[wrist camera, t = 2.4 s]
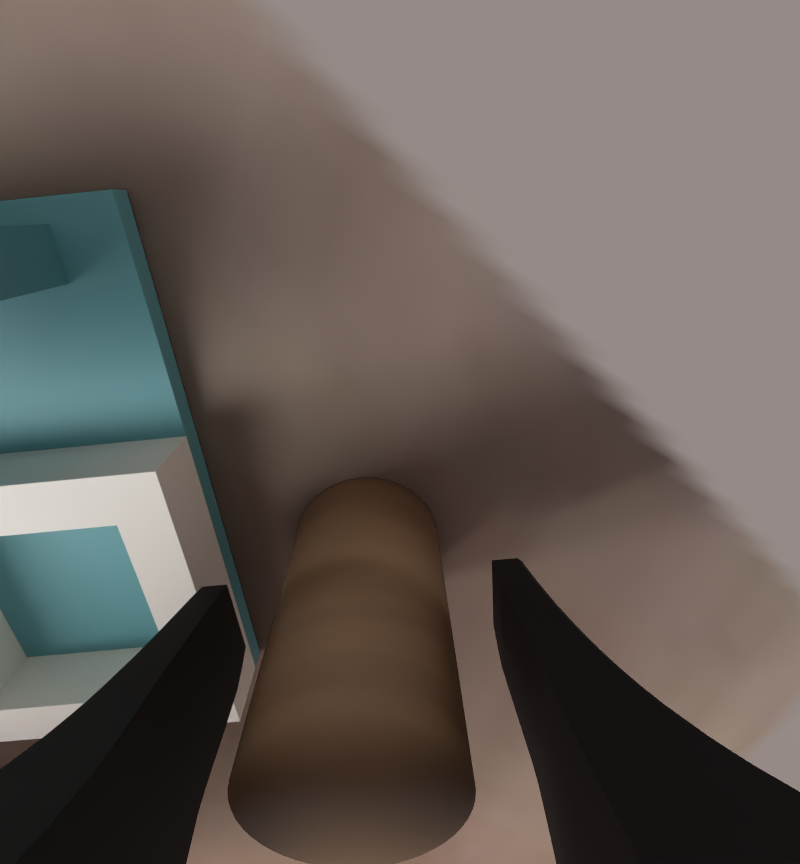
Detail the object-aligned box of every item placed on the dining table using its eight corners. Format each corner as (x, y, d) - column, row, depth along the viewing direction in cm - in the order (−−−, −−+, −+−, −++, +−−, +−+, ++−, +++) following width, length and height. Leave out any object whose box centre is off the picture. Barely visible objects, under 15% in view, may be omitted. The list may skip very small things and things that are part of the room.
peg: (441, 586, 15) (479, 858, 9) (310, 597, 15) (256, 876, 9) (432, 471, 14) (470, 705, 7) (286, 485, 14) (199, 728, 7)
